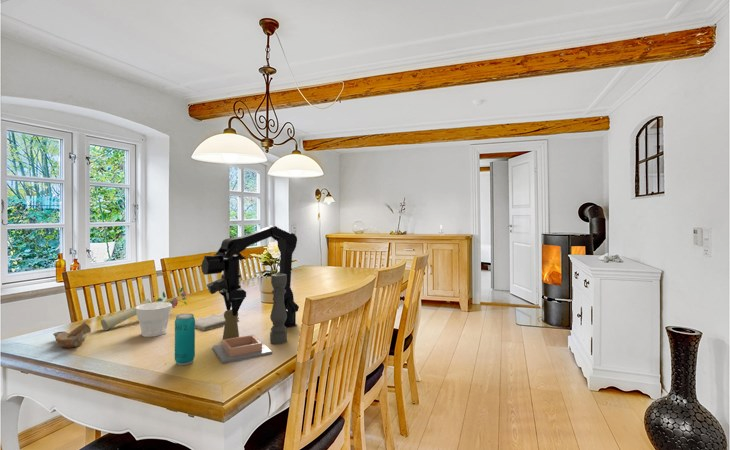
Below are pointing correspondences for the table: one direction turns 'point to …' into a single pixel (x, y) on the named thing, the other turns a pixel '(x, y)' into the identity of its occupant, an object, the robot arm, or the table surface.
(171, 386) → the table surface
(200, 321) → the washcloth
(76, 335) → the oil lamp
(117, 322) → the flower vase
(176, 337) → the beverage can
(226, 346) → the shaker socket
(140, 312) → the cup
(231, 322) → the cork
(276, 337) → the candle holder
